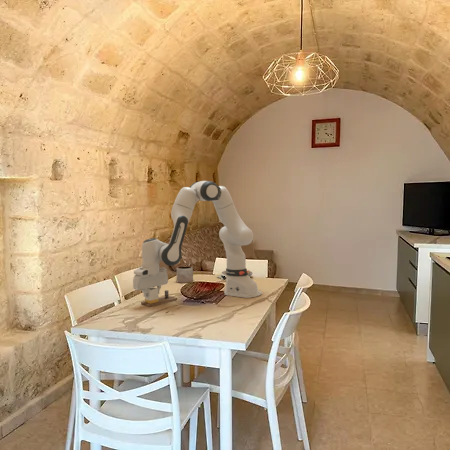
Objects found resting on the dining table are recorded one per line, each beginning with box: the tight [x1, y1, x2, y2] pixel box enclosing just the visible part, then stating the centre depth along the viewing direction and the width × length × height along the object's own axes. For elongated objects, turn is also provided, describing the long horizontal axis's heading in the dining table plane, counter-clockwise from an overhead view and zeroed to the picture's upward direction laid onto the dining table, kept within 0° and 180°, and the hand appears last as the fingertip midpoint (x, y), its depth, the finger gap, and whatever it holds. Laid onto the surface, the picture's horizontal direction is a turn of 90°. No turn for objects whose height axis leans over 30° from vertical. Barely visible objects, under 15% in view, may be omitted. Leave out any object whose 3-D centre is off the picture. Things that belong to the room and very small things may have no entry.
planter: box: [176, 265, 194, 284], centre depth 266 cm, size 11×11×10 cm
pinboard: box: [140, 290, 178, 308], centre depth 216 cm, size 8×18×5 cm, turn 136°
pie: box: [216, 270, 253, 281], centre depth 277 cm, size 28×27×5 cm
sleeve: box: [144, 287, 159, 303], centre depth 212 cm, size 5×5×7 cm
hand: (151, 295), depth 212 cm, fingers open, 6 cm apart
